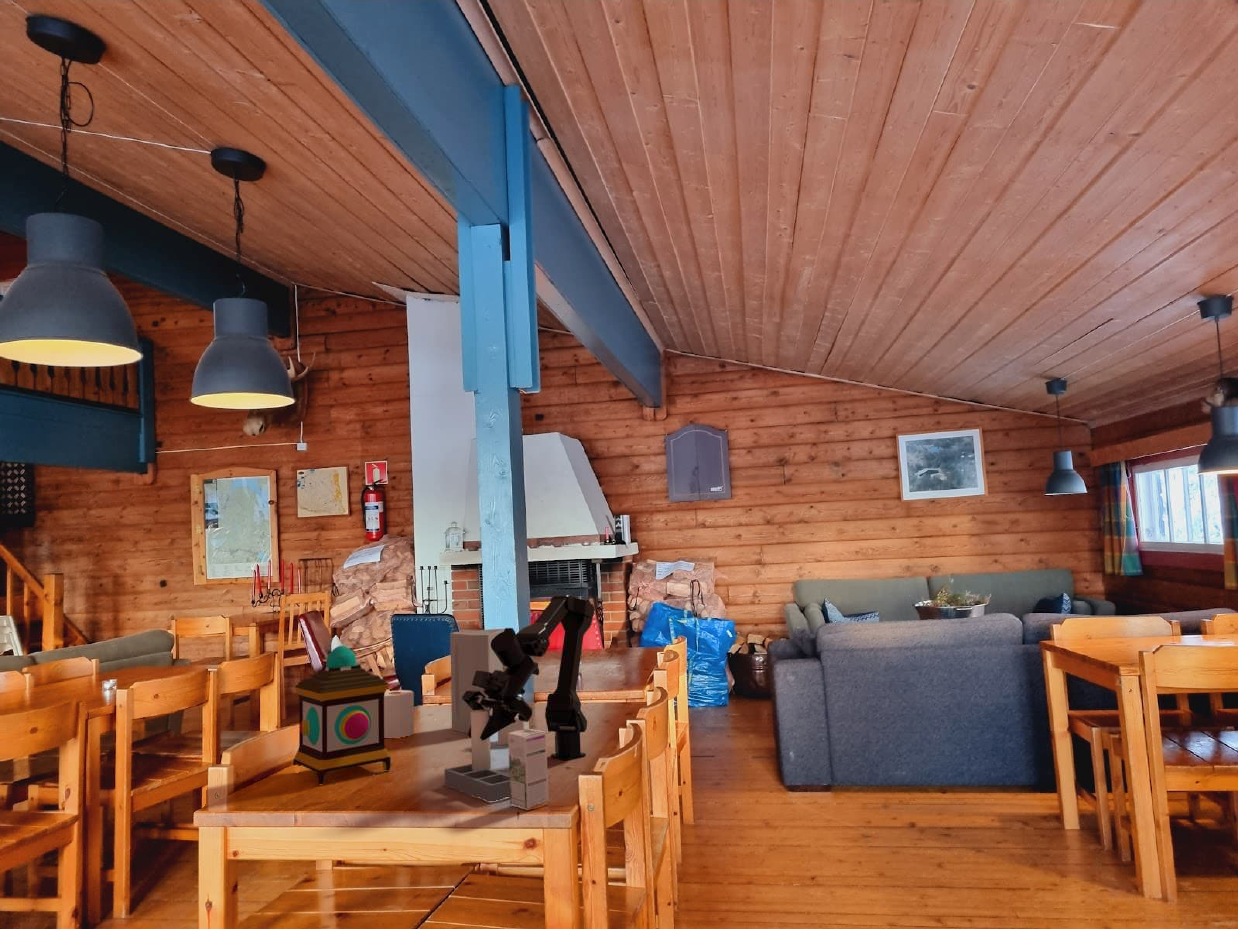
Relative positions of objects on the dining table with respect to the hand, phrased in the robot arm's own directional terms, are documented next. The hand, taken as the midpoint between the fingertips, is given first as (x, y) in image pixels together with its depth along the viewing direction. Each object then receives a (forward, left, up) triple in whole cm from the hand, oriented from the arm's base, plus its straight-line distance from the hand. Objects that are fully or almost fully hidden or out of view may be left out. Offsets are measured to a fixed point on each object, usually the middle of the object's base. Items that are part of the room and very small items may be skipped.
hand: (475, 738), depth 181 cm
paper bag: (+61, -35, -11) cm, 72 cm away
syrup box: (-17, -2, -11) cm, 21 cm away
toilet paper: (+71, -14, -11) cm, 73 cm away
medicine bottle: (+36, -32, -11) cm, 50 cm away
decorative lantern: (+40, +14, -11) cm, 44 cm away
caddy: (0, -1, -11) cm, 11 cm away
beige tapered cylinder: (0, -1, -7) cm, 7 cm away
